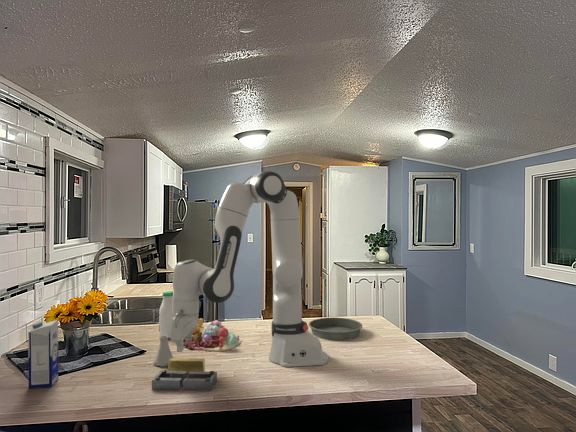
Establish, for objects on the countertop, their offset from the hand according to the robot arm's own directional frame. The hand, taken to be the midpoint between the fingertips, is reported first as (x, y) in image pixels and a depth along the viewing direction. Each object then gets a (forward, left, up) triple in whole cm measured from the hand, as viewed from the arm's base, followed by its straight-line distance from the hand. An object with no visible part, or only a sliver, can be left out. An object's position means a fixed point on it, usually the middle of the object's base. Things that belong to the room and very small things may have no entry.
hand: (184, 347), depth 150 cm
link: (+2, +10, -9) cm, 14 cm away
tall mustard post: (-1, 0, -9) cm, 9 cm away
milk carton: (+43, +11, -9) cm, 46 cm away
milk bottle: (+20, -43, -9) cm, 49 cm away
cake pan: (-55, -52, -10) cm, 76 cm away
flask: (+10, -9, -10) cm, 17 cm away
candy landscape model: (-1, -36, -10) cm, 37 cm away
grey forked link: (-8, +10, -9) cm, 16 cm away
